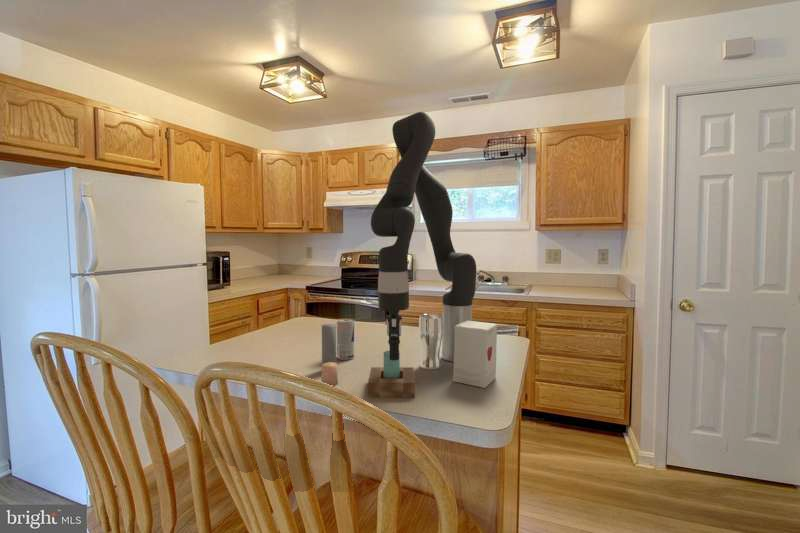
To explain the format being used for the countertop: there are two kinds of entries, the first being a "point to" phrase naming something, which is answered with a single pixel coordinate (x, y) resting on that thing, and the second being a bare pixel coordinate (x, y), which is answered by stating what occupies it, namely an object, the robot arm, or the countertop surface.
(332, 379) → the short dowel
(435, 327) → the beer glass
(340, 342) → the energy drink
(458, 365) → the supplement box
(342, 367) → the countertop surface
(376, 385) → the brown wooden square frame
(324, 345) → the long dowel
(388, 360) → the medium dowel
